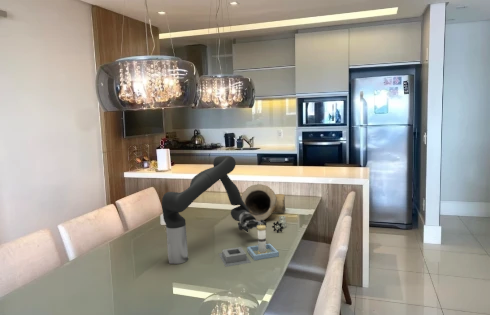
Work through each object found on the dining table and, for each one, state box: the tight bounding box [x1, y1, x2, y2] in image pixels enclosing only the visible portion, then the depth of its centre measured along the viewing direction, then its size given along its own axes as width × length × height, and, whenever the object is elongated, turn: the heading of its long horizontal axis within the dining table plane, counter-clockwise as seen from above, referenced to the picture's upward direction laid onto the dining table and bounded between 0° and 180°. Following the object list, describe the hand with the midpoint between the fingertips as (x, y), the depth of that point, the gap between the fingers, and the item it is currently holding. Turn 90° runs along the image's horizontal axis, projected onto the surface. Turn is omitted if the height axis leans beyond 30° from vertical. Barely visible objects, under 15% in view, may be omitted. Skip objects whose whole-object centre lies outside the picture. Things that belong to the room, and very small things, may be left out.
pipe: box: [241, 183, 286, 221], centre depth 245 cm, size 23×29×30 cm
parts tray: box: [246, 243, 280, 261], centre depth 177 cm, size 12×12×4 cm
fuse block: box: [218, 246, 252, 268], centre depth 173 cm, size 12×16×4 cm
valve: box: [271, 215, 287, 234], centre depth 214 cm, size 7×7×12 cm
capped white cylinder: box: [256, 224, 268, 254], centre depth 176 cm, size 4×4×14 cm
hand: (255, 229), depth 185 cm, fingers open, 8 cm apart
